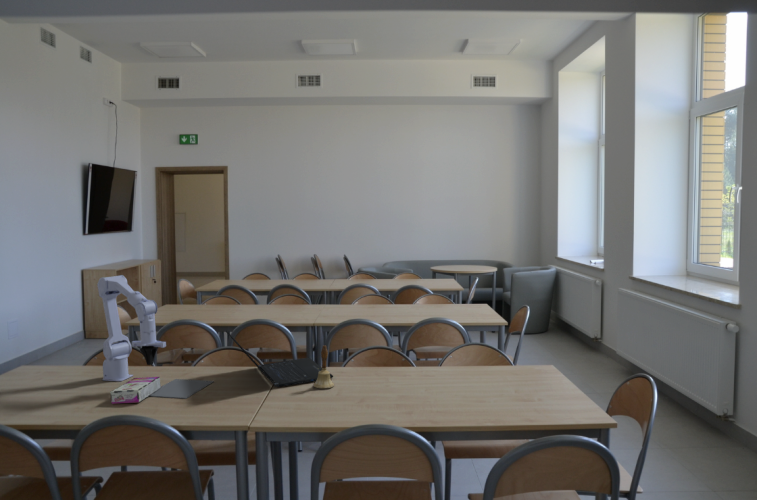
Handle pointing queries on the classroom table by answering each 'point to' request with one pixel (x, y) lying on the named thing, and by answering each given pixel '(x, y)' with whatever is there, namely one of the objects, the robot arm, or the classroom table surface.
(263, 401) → the classroom table surface
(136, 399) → the candy bar box
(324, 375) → the hand bell
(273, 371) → the laptop
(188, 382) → the mat
